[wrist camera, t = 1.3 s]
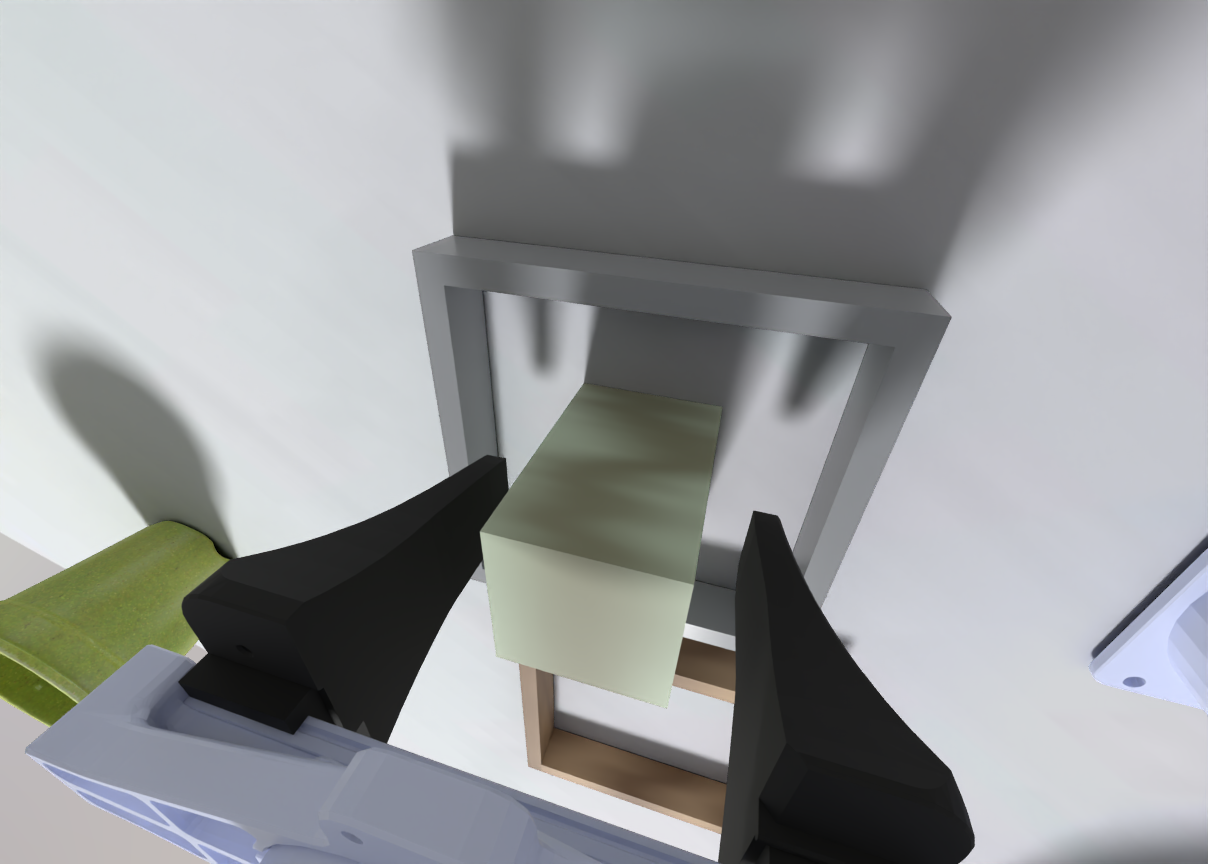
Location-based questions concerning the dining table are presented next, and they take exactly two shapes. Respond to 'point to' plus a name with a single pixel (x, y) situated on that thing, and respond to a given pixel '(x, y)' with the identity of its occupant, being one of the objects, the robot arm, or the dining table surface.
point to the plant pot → (100, 617)
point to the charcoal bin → (707, 293)
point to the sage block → (604, 542)
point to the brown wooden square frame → (623, 770)
